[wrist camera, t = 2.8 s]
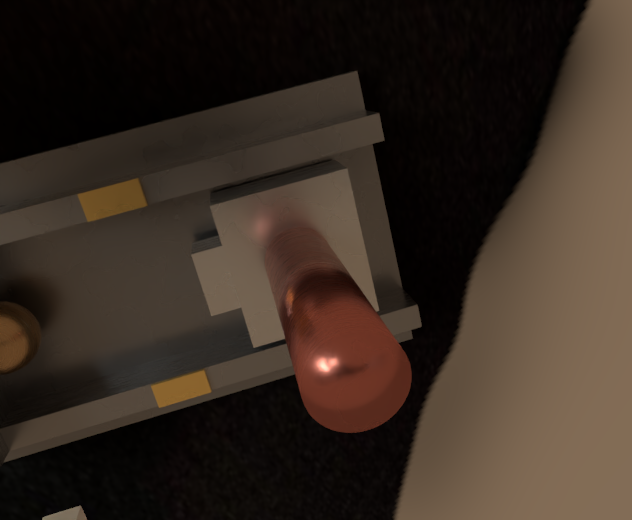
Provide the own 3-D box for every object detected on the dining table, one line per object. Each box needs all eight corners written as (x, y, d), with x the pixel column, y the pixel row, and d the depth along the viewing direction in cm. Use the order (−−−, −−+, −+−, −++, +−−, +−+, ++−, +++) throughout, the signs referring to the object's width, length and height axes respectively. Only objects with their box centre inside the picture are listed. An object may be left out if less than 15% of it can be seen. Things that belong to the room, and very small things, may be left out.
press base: (351, 71, 28) (404, 68, 20) (405, 329, 33) (465, 407, 25) (-166, 205, 26) (-325, 259, 18) (-32, 461, 31) (-114, 590, 23)
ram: (334, 159, 28) (442, 231, 15) (364, 290, 30) (481, 452, 17) (180, 201, 27) (151, 316, 14) (222, 331, 29) (231, 534, 16)
